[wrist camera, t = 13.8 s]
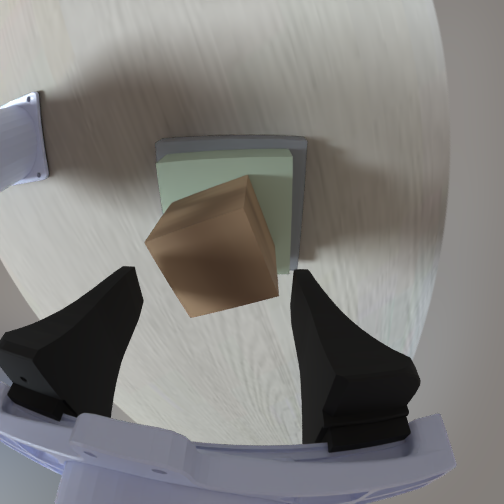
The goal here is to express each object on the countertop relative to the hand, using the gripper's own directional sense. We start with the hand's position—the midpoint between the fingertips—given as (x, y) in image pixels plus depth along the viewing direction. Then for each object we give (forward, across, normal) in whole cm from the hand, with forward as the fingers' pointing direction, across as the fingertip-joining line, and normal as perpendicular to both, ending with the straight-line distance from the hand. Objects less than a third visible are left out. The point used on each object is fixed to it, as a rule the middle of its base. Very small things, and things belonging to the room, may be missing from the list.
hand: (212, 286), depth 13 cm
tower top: (+9, 0, 0) cm, 9 cm away
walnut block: (+6, 0, 0) cm, 6 cm away
